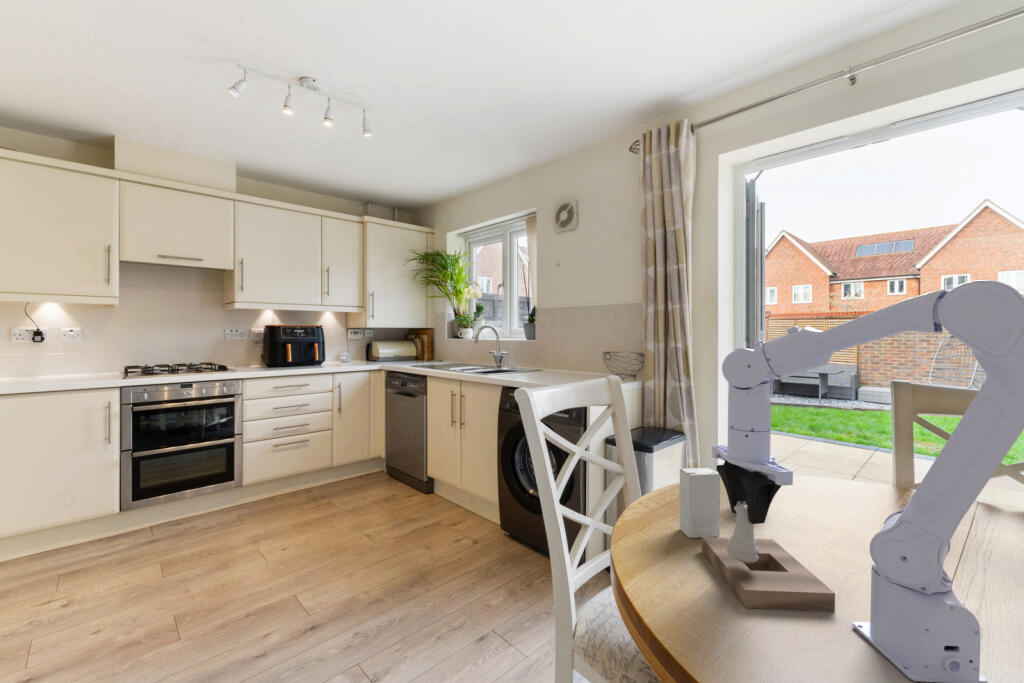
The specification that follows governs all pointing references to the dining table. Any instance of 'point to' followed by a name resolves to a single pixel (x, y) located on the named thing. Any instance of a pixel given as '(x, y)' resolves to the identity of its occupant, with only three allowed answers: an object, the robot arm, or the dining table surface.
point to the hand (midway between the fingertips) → (747, 517)
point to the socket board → (769, 578)
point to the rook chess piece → (743, 537)
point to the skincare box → (699, 502)
